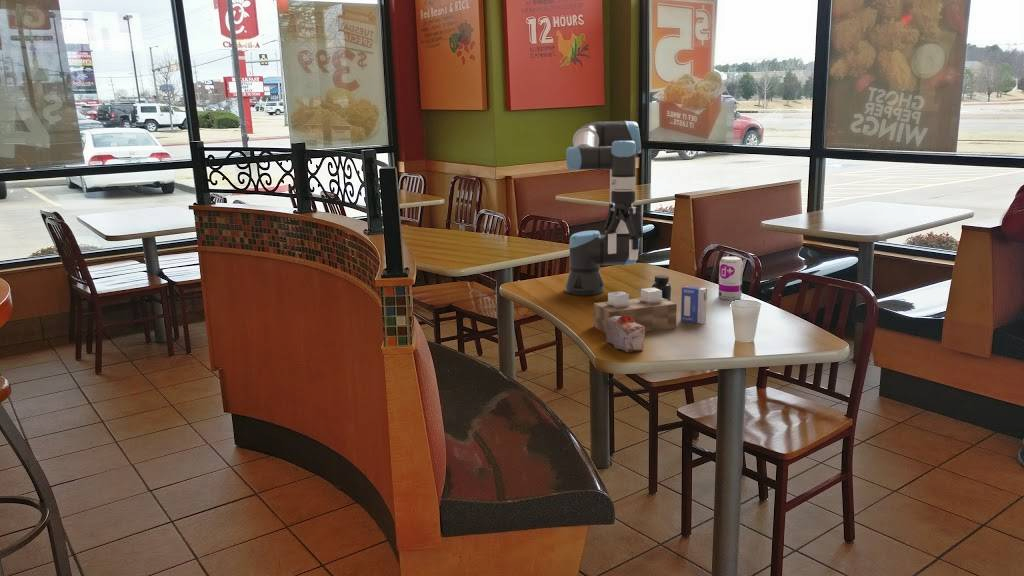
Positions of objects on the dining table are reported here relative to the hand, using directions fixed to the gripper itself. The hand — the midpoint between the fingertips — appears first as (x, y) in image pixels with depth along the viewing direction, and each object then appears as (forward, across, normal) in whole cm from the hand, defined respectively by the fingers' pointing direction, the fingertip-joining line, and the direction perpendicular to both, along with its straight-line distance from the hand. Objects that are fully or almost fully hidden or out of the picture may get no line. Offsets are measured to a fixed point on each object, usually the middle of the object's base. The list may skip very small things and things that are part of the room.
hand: (622, 256), depth 263 cm
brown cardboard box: (+24, 0, +5) cm, 24 cm away
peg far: (+20, +1, +11) cm, 22 cm away
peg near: (+20, 0, -1) cm, 20 cm away
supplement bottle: (+23, -15, +24) cm, 37 cm away
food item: (+25, +18, -9) cm, 32 cm away
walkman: (+24, +3, +26) cm, 35 cm away
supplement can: (+23, -18, +56) cm, 63 cm away
